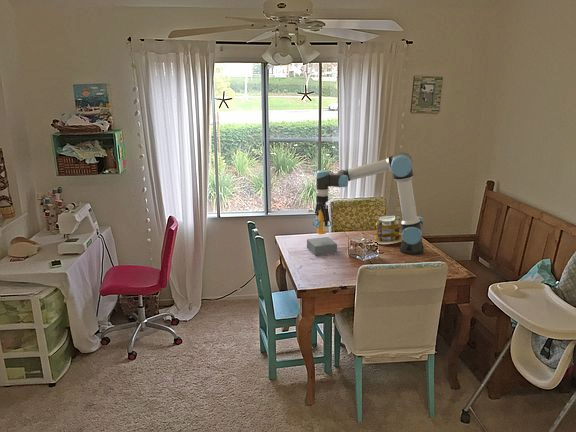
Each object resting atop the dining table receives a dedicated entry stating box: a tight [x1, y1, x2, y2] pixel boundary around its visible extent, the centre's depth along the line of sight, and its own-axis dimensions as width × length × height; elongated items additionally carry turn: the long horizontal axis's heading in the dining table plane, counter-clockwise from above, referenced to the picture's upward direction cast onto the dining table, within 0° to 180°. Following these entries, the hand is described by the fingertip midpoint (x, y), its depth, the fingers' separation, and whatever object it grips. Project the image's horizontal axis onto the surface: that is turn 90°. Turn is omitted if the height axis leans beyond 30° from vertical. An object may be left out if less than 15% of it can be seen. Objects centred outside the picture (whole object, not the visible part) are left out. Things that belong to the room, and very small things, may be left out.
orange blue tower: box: [312, 210, 332, 235], centre depth 314 cm, size 12×10×15 cm
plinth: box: [306, 236, 338, 256], centre depth 318 cm, size 15×15×6 cm
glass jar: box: [373, 215, 403, 245], centre depth 334 cm, size 25×25×17 cm
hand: (321, 228), depth 315 cm, fingers closed on orange blue tower, 12 cm apart
